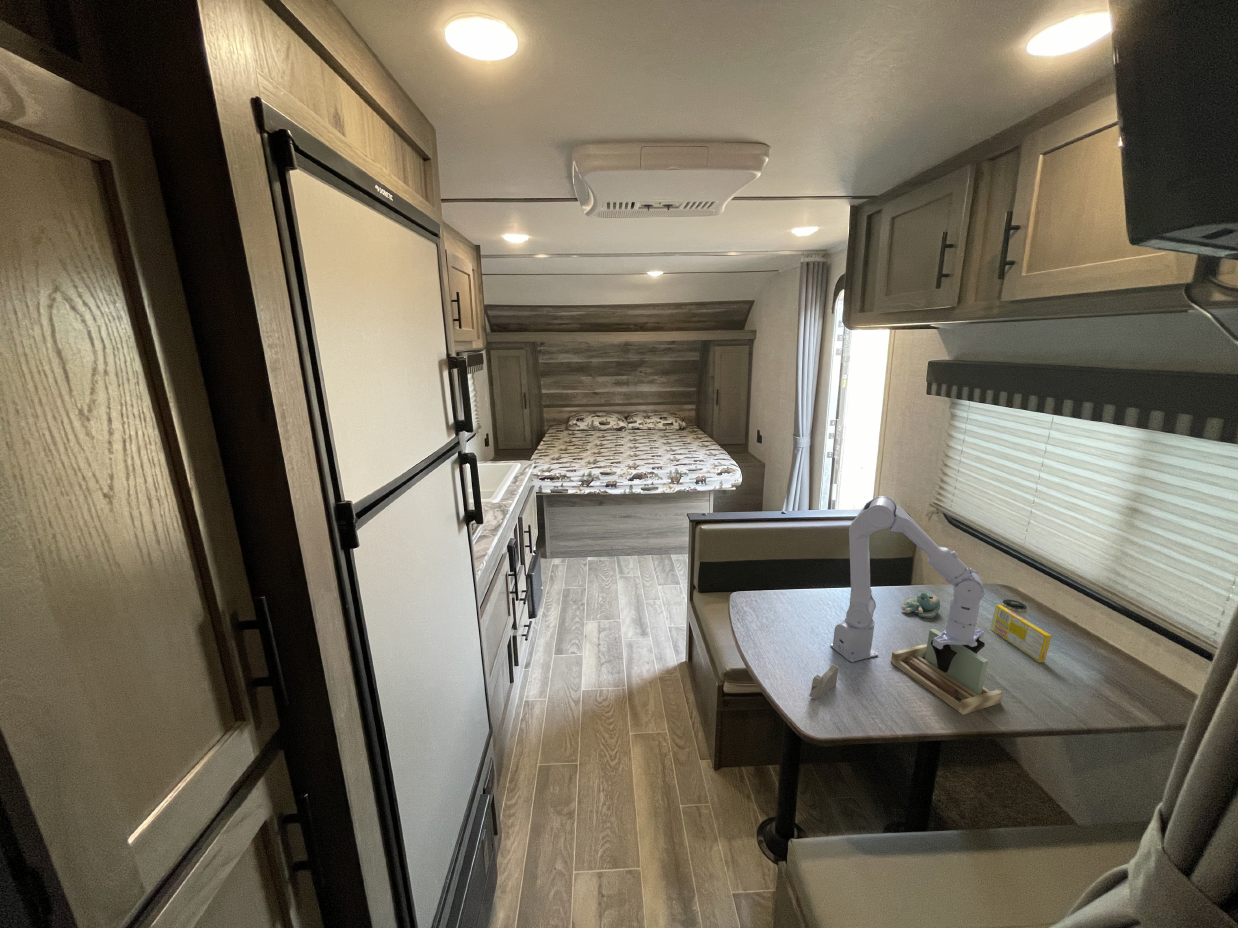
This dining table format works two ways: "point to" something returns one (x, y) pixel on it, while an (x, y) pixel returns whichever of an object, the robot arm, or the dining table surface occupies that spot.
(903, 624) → the dining table surface
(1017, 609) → the dark lidded jar
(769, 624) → the dining table surface
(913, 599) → the stuffed animal
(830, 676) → the beige angular flat piece
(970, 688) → the large sage green box
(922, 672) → the offcut stack
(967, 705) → the offcut rack
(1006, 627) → the candy box
